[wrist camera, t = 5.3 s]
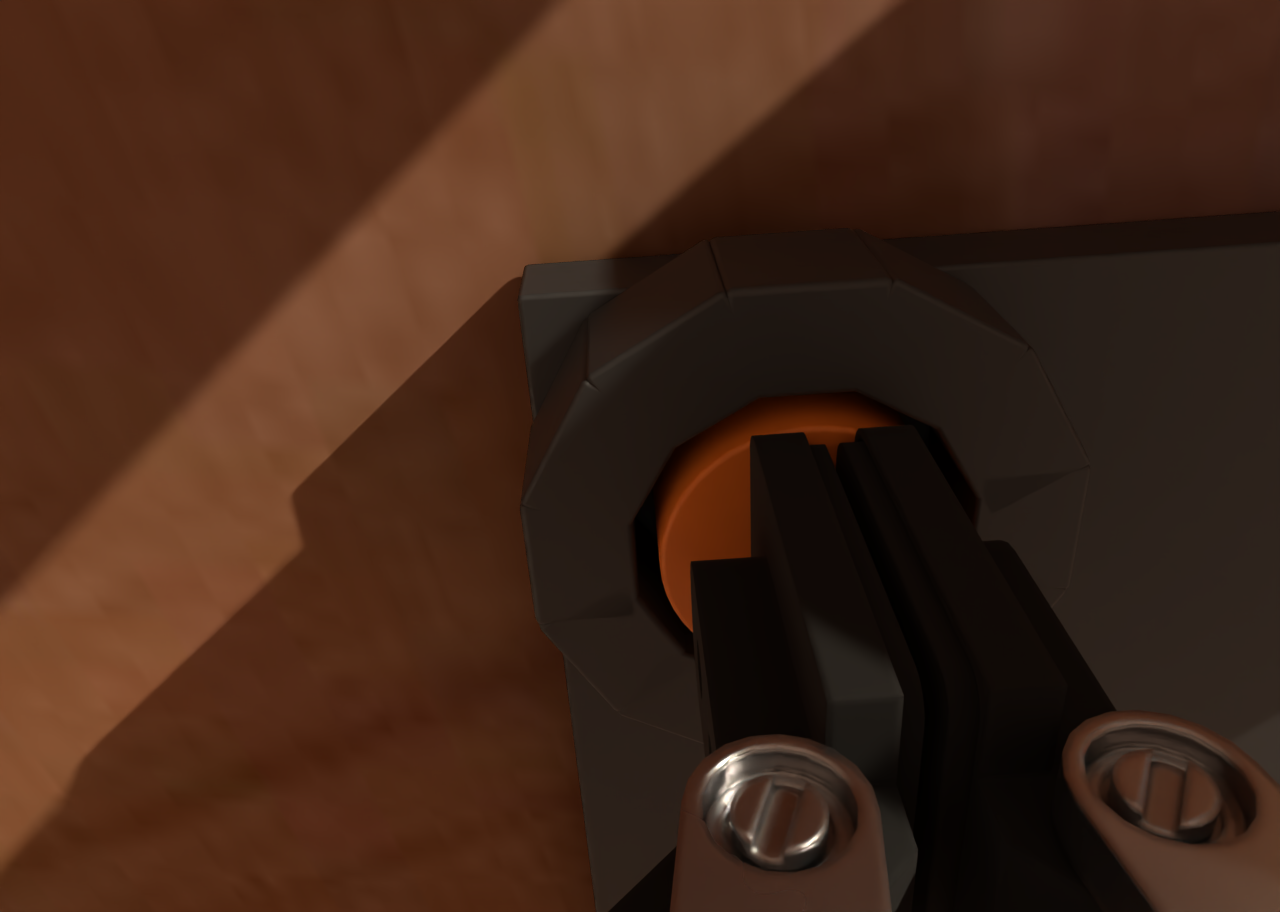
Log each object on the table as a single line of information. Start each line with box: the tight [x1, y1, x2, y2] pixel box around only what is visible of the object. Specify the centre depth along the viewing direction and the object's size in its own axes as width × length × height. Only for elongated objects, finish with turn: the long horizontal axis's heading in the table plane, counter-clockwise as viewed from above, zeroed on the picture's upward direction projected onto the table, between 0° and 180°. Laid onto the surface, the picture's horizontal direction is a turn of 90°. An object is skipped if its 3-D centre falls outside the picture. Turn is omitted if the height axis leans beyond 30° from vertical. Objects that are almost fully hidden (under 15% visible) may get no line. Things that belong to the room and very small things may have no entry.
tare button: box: [653, 391, 905, 633], centre depth 11 cm, size 3×3×2 cm
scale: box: [517, 211, 1280, 912], centre depth 14 cm, size 16×15×3 cm
